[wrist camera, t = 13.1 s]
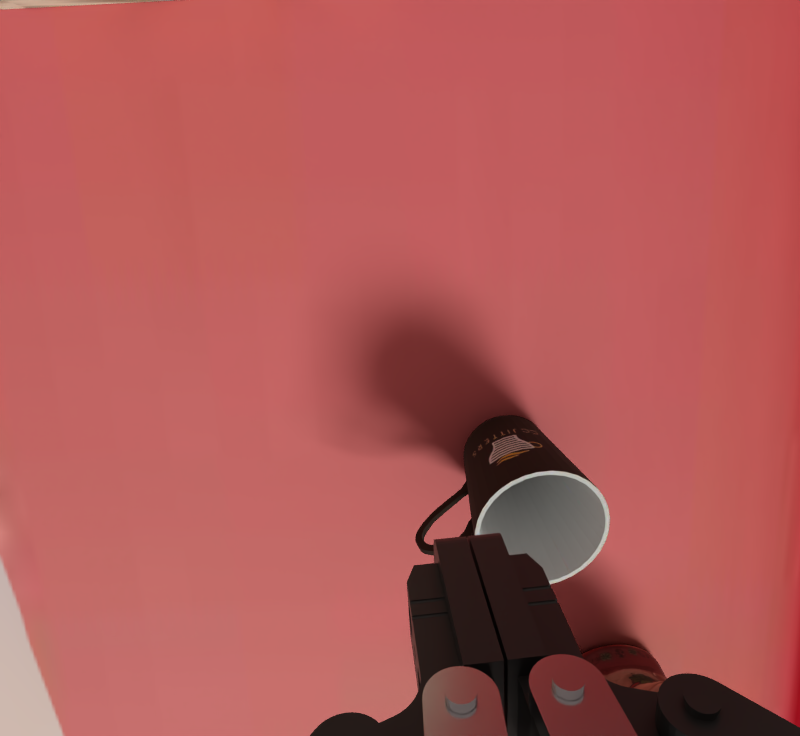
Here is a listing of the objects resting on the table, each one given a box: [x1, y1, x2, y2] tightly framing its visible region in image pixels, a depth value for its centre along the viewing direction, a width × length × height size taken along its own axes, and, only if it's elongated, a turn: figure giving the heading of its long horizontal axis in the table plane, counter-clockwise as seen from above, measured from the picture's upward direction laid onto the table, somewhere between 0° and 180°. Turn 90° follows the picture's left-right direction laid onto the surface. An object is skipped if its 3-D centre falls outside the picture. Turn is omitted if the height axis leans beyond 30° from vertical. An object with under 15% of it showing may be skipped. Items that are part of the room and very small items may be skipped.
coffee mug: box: [416, 415, 610, 584], centre depth 45 cm, size 12×9×10 cm
